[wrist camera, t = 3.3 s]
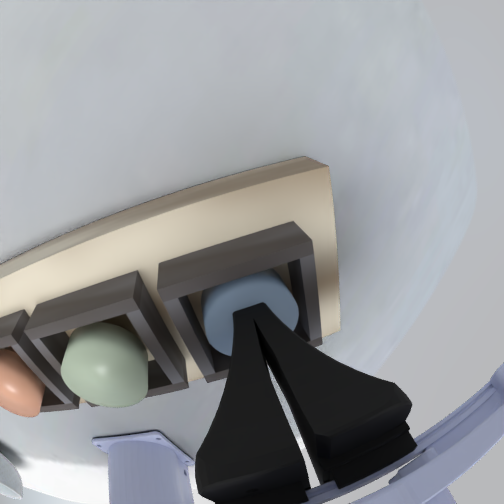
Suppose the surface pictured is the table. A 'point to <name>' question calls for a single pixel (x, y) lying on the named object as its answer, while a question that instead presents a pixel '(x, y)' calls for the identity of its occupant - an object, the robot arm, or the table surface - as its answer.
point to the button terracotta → (19, 386)
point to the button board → (175, 274)
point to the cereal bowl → (9, 479)
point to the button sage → (106, 365)
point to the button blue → (244, 305)
